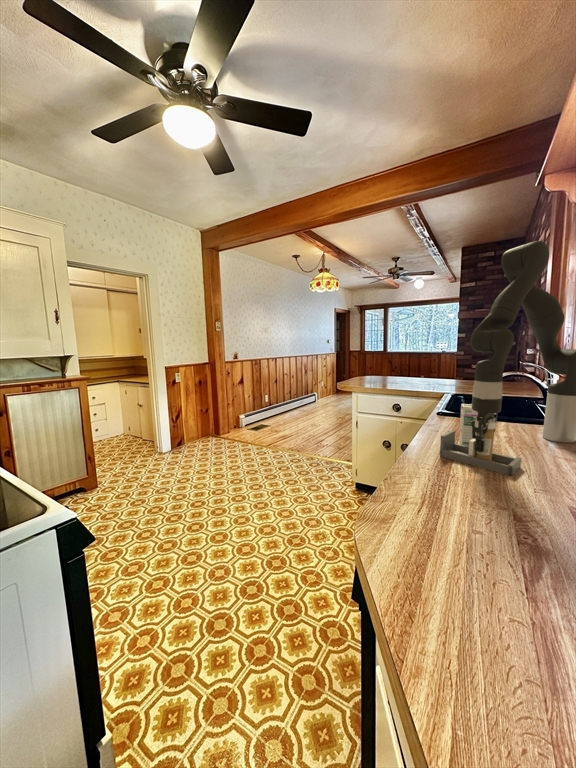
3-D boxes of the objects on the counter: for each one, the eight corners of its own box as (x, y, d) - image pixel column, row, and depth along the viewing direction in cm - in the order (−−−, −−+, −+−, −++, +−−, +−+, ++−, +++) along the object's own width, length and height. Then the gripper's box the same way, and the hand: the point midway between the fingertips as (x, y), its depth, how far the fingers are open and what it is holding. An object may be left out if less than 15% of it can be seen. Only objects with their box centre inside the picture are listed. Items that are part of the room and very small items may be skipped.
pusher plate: (475, 451, 101) (476, 436, 101) (479, 452, 100) (480, 437, 100) (468, 456, 98) (469, 440, 97) (472, 457, 97) (473, 441, 96)
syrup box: (460, 446, 112) (463, 406, 109) (458, 440, 117) (461, 402, 115) (479, 447, 110) (482, 407, 107) (476, 442, 115) (479, 403, 113)
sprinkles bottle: (494, 463, 97) (499, 421, 94) (487, 467, 94) (491, 424, 92) (478, 458, 101) (482, 417, 98) (471, 461, 98) (475, 420, 96)
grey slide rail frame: (451, 449, 109) (452, 430, 108) (520, 467, 93) (522, 445, 92) (439, 455, 103) (440, 435, 102) (511, 476, 88) (513, 452, 87)
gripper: (482, 390, 102) (478, 440, 104) (463, 397, 93) (460, 451, 95) (509, 393, 96) (504, 446, 99) (492, 401, 87) (487, 458, 90)
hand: (482, 448), depth 97 cm, fingers open, 5 cm apart
